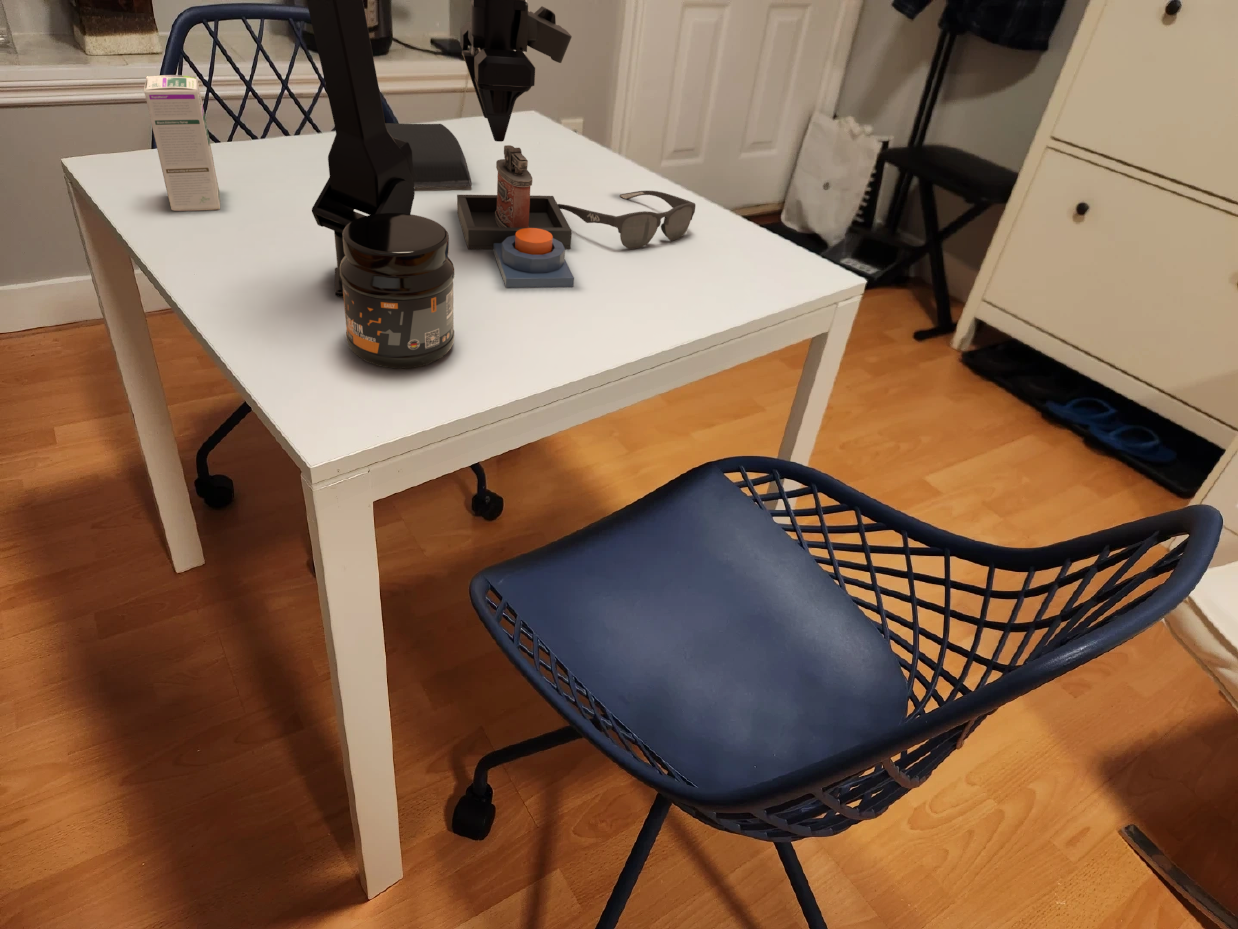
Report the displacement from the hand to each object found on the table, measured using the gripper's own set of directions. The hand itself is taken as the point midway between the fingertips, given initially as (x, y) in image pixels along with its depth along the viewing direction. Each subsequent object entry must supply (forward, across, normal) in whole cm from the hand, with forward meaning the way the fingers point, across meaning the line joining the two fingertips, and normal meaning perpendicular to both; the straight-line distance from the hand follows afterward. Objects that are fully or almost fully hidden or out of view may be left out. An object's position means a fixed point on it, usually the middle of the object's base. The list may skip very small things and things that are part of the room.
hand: (493, 129), depth 105 cm
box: (+13, -12, -3) cm, 18 cm away
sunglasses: (+13, +3, -18) cm, 23 cm away
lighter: (+12, 0, -3) cm, 13 cm away
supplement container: (+13, -29, +13) cm, 35 cm away
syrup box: (+13, +8, +36) cm, 39 cm away
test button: (+10, -12, -3) cm, 16 cm away
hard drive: (+13, +24, +7) cm, 28 cm away
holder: (+13, 0, -3) cm, 13 cm away
